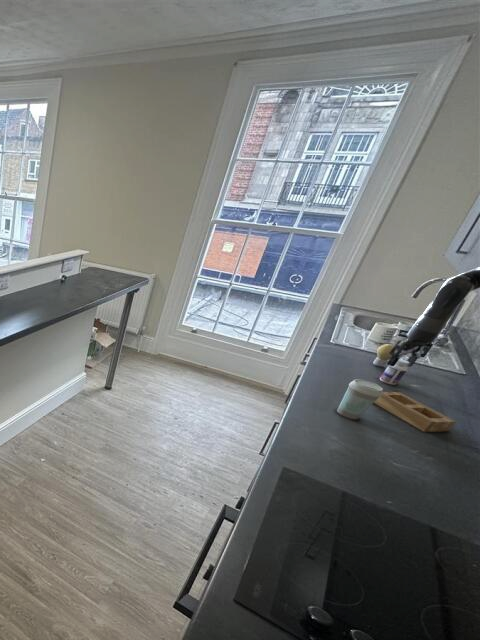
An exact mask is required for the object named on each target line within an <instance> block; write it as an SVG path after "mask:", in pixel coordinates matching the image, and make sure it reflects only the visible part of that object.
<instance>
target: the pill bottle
mask: <svg viewBox="0 0 480 640" xmlns="http://www.w3.org/2000/svg"><path fill="white" fill-rule="evenodd" d="M409 363H410V362H408V361H407V360H406V359H402V358H400V359H399V360H398V362H397V363H396V364H395V366H390V365H387V367H386V369H385V370H384V372H383V373H382V374H381V376H380V377H379V380H380V381H381V382H383V383H384V384H388V385H393V386H396V385H398V383H399V382H400V380H401V379H402V378H403V376H404V375H405V374H406V372H407V371H408V364H409Z"/></svg>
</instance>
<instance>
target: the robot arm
mask: <svg viewBox="0 0 480 640" xmlns="http://www.w3.org/2000/svg"><path fill="white" fill-rule="evenodd" d="M478 289H480V267H476V268H473V269H471V270H468V271H465V272H462V273H460V274H457V275H454V276H453V277H450V278H449V279H447V280H446V281H445V282H443V284H442V285H441V287H440V289H439V290H438V291H437V293H436V295H435V297H434V298H433V300H432V301H431V302H430V303H429V304H428V306H427V307H426V309H424V311H423V312H422V314H421V315H420V316H419V317H418V318H417V319H416V321H415V322H414V323H413V325H412V326H411V328H410V329H409V331H408V332H407V333H406V335H405V336H406V338H407V339H406V340H405V341H404V340H400V339H399V340H398V341H397V342H396V343H395V345H394V347H393V349H392V350H391V351H390V352H389V354H391V355H392V357H391V359H388V360H387V362H386V364H387V366H389V365H390V366H395V364H396V363H397V362H398V360H399V359H402V357H403V356H408V355H409V354H410V356H409V357H408V358H407V360H406V361H408V362H410V363H409V364H408V366H407V368H409V367H410V368H412V366H413V365H414V364H415V363H416V361H417V360H419V359H421V358H425V357H426V356H427V355H428V353H429V352H430V350H432V348H433V346H434V343H433V342H434V341H435V340H436V339H437V338H438V336H439V335H440V334H441V332H442V331H443V330H444V328H445V327H446V326H447V323H449V321H450V319H451V318H452V317H453V315H454V314H455V312H456V311H457V310H458V307H459V305H460V304H461V303H462V302H463V301H464V299H465V298H466V297H467V296H469V294H470V293H471V292H473V291H475V290H478ZM395 350H397V351H395ZM394 351H395V352H394Z"/></svg>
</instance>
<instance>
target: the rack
mask: <svg viewBox="0 0 480 640" xmlns="http://www.w3.org/2000/svg"><path fill="white" fill-rule="evenodd" d="M382 393H383V394H382V396H380V397H378V398H377V399H376V401H375V402H374V403H373V404H375V405H376V406H378V407H380V408H382V409H383V410H385V411H387V412H389V413H391V414H392V415H394V416H395V417H397V418H399V419H401V420H403V421H404V422H407V423H408V424H410V425H412V426H413V427H415V428H416V429H419V430H420V431H422V432H423V433H424V432H427V433H429V432H449V431H450V430H451V428H453V426H454V425H455V424H456V423H457V421H456V420H454V419H452V418H451V417H448V416H446V415H444V414H443V413H441V412H439V411H437V410H435V409H433V408H431V407H430V406H427V405H425V404H424V403H421V402H419V401H418V400H416V399H414V398H412V397H410V396H408V395H406V394H403V393H402V392H399V391H383V392H382Z"/></svg>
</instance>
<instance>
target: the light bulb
mask: <svg viewBox="0 0 480 640" xmlns="http://www.w3.org/2000/svg"><path fill="white" fill-rule="evenodd" d="M394 346H395V345H394V344H390V343H385V344H382V345H380V346H379V347H377V350H376V354H377V355H376V356H377V357H376V358H375V359H374V361H373V365H374V366H376V367H379V368H381V367H385V365H386V364H387V363H388V361H389V360H390V359H391V357H392V355H391V354H389V352H390V351H391V350H392V349H393V347H394ZM395 351H397V350H395ZM395 351H394V352H395Z"/></svg>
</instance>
